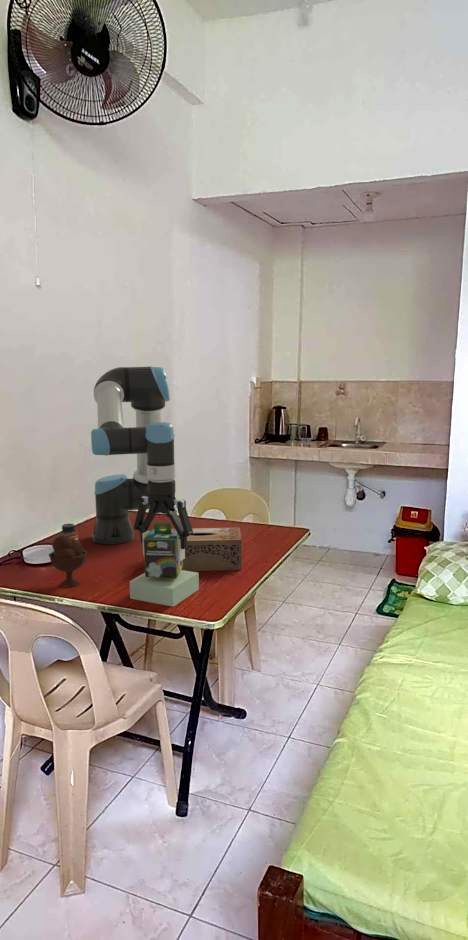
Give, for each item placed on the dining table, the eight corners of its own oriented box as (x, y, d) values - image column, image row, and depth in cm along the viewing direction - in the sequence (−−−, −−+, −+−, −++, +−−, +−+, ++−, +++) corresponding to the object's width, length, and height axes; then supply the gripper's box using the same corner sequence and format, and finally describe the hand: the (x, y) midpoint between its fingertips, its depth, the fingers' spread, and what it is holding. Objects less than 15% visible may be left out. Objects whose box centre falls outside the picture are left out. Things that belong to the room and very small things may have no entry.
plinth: (130, 598, 175) (129, 581, 175) (157, 582, 188) (157, 566, 187) (173, 606, 169) (172, 588, 168) (198, 589, 182) (198, 572, 181)
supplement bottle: (57, 557, 212) (55, 525, 210) (73, 553, 216) (71, 521, 214) (66, 561, 208) (64, 528, 206) (82, 557, 212) (80, 524, 210)
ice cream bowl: (69, 593, 180) (66, 542, 177) (42, 586, 186) (39, 537, 183) (96, 582, 189) (93, 533, 186) (69, 575, 195) (66, 528, 192)
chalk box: (183, 567, 181) (182, 517, 179) (177, 579, 172) (176, 526, 170) (151, 566, 182) (150, 516, 180) (143, 577, 173) (142, 525, 171)
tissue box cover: (239, 556, 212) (239, 527, 211) (241, 570, 198) (241, 539, 196) (162, 557, 212) (162, 528, 210) (159, 572, 197) (158, 541, 196)
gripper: (118, 478, 174) (122, 555, 178) (191, 485, 164) (193, 566, 168) (134, 474, 181) (137, 548, 185) (205, 480, 171) (206, 558, 175)
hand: (163, 557), depth 177 cm, fingers closed on chalk box, 10 cm apart
